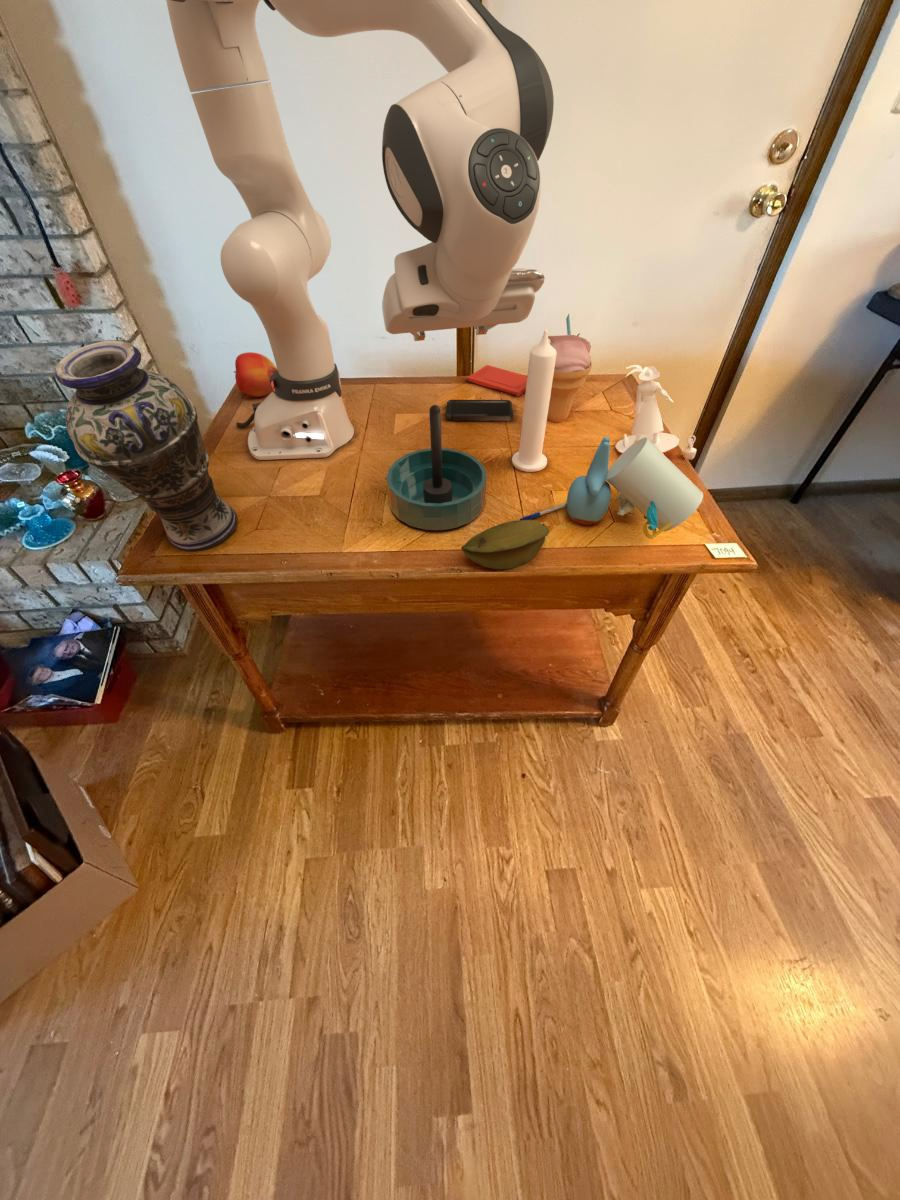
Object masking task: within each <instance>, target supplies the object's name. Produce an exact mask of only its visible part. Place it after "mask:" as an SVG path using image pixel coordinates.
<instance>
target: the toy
mask: <svg viewBox="0 0 900 1200" xmlns="http://www.w3.org/2000/svg"><path fill="white" fill-rule="evenodd" d="M610 449H611V438H610V437H609V436H604V437H603V438H602V440H601V441H600V443H599V445H598V446H597V449H596V451H595V453H594V456H593V458H592V460H591V462H590V465H589V467H588V469H587V472H586V474H585V475H581V476H577V477H576V478H575V479H574V480H573V481H572V482H571V484H570V486H569V488H568V492H567V496H566V503H567V506H566V511H567V514H568V517H569V518H570V519H571V520H572V521H574V522H576V523H578V524H581V525H592V524H595V523H598V522H600V521H601V520H602V519H604V517H605V515H606V514H607V512H608V510H609V507H610V505H611V501H612V487H611V484H610V483H609V482H608V481H607V480H606V478H607V474H608V470H609V462H610Z"/></svg>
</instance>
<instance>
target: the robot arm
mask: <svg viewBox="0 0 900 1200" xmlns="http://www.w3.org/2000/svg"><path fill="white" fill-rule="evenodd" d="M165 1H166V6H167V11H168V15H169V21H170V24H171V30H172V34H173V38H174V42H175V45H176V50H177V53H178V57H179V61H180V64H181V67H182V70H183V74H184V78H185V80H186V84H187V86H188V90H189V93H191V94H190V95H191V98H192V102H193V104H194V106H195V109H196V113H197V116H198V118H199V121H200V124H201V128H202V130H203V133H204V136H205V138H206V139H205V140H206V142H207V144H208V148H209V150H210V153H211V156H212V159H213V162H214V164H215V166H216V167H217V169H218V171H220V173H221V174H222V175H223V176H224V177H226V178H227V179H228V180H229V181H230V182H231V183H232V185H233V186H234V187H235V189H236V190H237V192H238V193H239V195H240V197H241V198H242V200H243V202H244V204H245V205H246V208H247V210H248V212H249V214H250V219H248V220H246V221H243V222H241V223H239V224H238V225H237V226H236V227H235V228H234V230H232V232H231V233H230V234H229V236H228V237H227V238H226V240H225V241H224V242H223V244H222V247H221V250H220V266H221V271H222V273H223V275H224V278H225V280H226V282H227V283H228V285H229V287H230V288H231V289H232V290H233V292H234V293H235V294H236V295H237V296H238V297H240V298H241V299H242V300H243V301H245V302H246V303H248V304H249V305H250V306H251V307H252V308H253V311H255V313H256V315H257V316H258V318H259V320H260V322H261V325H262V326H263V328H264V330H265V332H266V335H267V338H268V341H269V345H270V349H271V352H272V356H273V358H274V364H275V366H276V368H277V369H275V367H269V368H268V370H267V376H268V378H269V380H270V385H271V388H272V392H271V393H270V394H268V395H266V396H265V398H264V399H263V400H262V402H257V403H252V404H251V406H252V409H253V412H252V413H251V415H250V416H249V417H248V419H247V420H246V421H245V422H238V421H237V422H236V423H235V425H236V427H239V428H246V427H249V425H251V424H252V423H253V424H254V425H253V427H252V428H251V429H250V431H249V432H248V437H247V446H248V450H249V454H250V455H251V457H253V458H254V459H255V460H257V461H273V460H293V459H294V460H296V459H318V458H319V459H320V458H329V456H331V455H332V454H333V453H334V452H335V451H336V450H337V449H339V448H341V447H342V446H344V445H346V444H347V443H349V441H350V440H351V439H353V437H354V434H355V428H354V426H353V424H352V422H351V420H350V418H349V415H348V413H347V409H346V406H345V404H344V400H343V396H342V394H343V393H342V391H343V388H342V381H341V377H340V371H339V370H338V365H337V363H335V360H334V354H333V353H334V352H333V348H332V342H331V338H330V332H329V326H328V324H327V322H326V321H325V319H324V318H323V317H322V316H321V315H319V314H318V313H317V311H316V309H315V307H314V305H313V302H312V300H311V298H310V293H309V291H308V282H309V281H310V280H311V279H313V278H314V277H316V275H318V274H319V273H320V272H321V271H322V269H323V268H324V266H325V264H326V263H327V261H328V258H329V256H330V253H331V249H332V237H331V233H330V229H329V226H328V224H327V223H326V221H325V219H324V217H323V216H322V215H321V214H320V213H319V212H318V211H317V209H315V207H314V206H313V204H312V202H311V200H310V198H309V195H308V193H307V192H306V189H305V187H304V185H303V182H302V181H301V177H300V176H299V173H298V172H297V168H296V166H295V164H294V161H293V159H292V156H291V153H290V150H289V146H288V142H287V139H286V135H285V132H284V128H283V125H282V120H281V116H280V112H279V110H278V109H279V108H278V106H277V102H276V97H275V93H274V90H273V86H272V83H271V79H270V74H269V72H268V69H267V68H268V67H267V64H266V61H265V57H264V54H263V50H262V48H261V44H260V41H259V36H258V32H257V27H256V13H257V9H258V6H259V3H260V2H261V0H165ZM262 1H263V2H264V3H265V5H266V6H267V7H268V8H269V9H270V10H271V11H274V12H275V11H277V12H278V13H279V14H280V15H281V17H283V19H285V20H286V22H288V23H289V24H291V25H292V26H293V27H295V28H296V29H298V30H299V31H300V32H302V33H305V34H307V35H310V36H313V37H317V38H336V37H342V36H346V35H351V34H357V33H365V32H373V31H395V32H399V33H403V34H407V35H409V36H412V37H414V38H415V39H416V40H418V41H419V42H420V43H422V45H424V47H425V49H427V50H428V51H429V53H430V54H431V55H432V56H433V57H434V58H435V59H436V61H437V62H438V63H439V64H440V65H441V66H442V67H443V68H444V69H445V71H446V72H447V73H446V74H445V75H443V76H440V78H438V79H435V80H433V81H430V82H428V83H426V84H425V85H422V86H421V87H420V88H418V89H416V90H414V91H413V92H410V93H409V94H407V95H406V96H404V97H402V98H401V99H399V100H398V101H397V102H395V103H393V104H392V105H390V107H389V109H388V111H387V113H386V117H385V119H384V124H383V128H382V129H383V130H382V140H381V141H382V142H381V159H382V162H381V163H382V170H383V175H384V180H385V183H386V186H387V189H388V192H389V194H390V196H391V198H392V200H393V203H394V204H395V206H396V208H397V210H398V211H399V213H400V214H401V216H402V217H403V218H404V220H405V221H407V223H408V224H409V225H410V226H411V227H412V228H413V229H414V230H415V231H416V232H418V233H419V234H420V235H421V236H422V237H424V238H425V239H426V240H427V241H429V243H427V244H425V245H422V246H420V247H416V248H413V249H409V250H406V251H403V252H400V253H398V254H396V255H395V257H394V262H393V263H394V265H393V266H394V273H392V274H391V276H390V277H389V278H388V279H387V282H386V284H385V286H384V287H385V288H384V291H383V295H382V302H381V303H382V304H381V311H382V318H383V323H384V328H385V331H386V332H387V333H389V334H391V335H401V334H411V335H412V336H413V341H414V342H420V341H421V342H422V341H425V340H426V339H425V338H426V332H429V331H430V332H433V331H441V330H442V331H443V330H453V329H463V328H473V327H474V329H475V335H476V336H481V335H482V336H483V335H487V333H488V331H489V330H491V329H493V328H495V327H496V326H498V325H506V324H517V323H521V322H523V321H525V320H526V319H528V317H529V315H530V313H531V312H532V309H533V307H534V304H535V300H536V293H537V292H539V290H540V289H542V287H543V285H544V283H545V279H546V278H545V275H544V274H543V273H541V272H538V270H537V269H532V268H531V269H529V268H525V267H518V268H515V266H516V264H517V263H518V262H519V259H520V258H521V256H522V254H523V251H524V249H525V247H526V245H527V243H528V240H529V239H530V236H531V233H532V230H533V227H534V225H535V222H536V220H537V215H538V211H539V207H540V201H541V200H540V199H541V187H542V177H541V176H542V175H541V169H540V165H539V160H540V159H541V157H542V154H543V152H544V150H545V147H546V145H547V142H548V139H549V136H550V132H551V127H552V122H553V116H554V106H555V105H554V99H555V98H554V90H553V84H552V81H551V76H550V75H549V71H548V70H547V68H546V66H545V64H544V61H543V60H542V58H541V57H540V56H539V54H538V52H537V51H536V50H535V49H534V48H533V47H532V45H530V44H529V43H528V42H527V41H526V40H525V39H523V37H521V36H520V35H518V34H517V33H516V32H513V31H512V30H510V29H508V28H507V27H506V26H504V25H503V24H502V23H501V22H500V21H498V20H497V19H496V18H495V16H494V15H493V14H492V13H491V12H490V11H489V9H488V8H486V7H485V5H484V4H483V3H482V2H481V1H480V0H262Z"/></svg>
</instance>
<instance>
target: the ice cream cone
mask: <svg viewBox="0 0 900 1200" xmlns="http://www.w3.org/2000/svg"><path fill="white" fill-rule="evenodd" d="M570 319H571V318H570V313H568V314H567V316H566V319H565V323H566V333H567V334H564V335H560V334H559V335H548V340H549V344H550V345H551V346H552V347H553V348H554V349H555V350H556V352H557V354H556V361H555V368H554V374H553V381H552V388H551V395H550V402H549V408H548V415H547V421H549V422H553V423H562V422H565V421H566V420H567V418H569V415H570V413H571V410H572V406H573V404H574V401H575V396H576V394H577V392H578V390H579V389H580V388H581V387H582V386H584V384H585V383H586V380H587V376H588V375H589V374H590V373H591V371H592V367H593V366H592V365H593V364H592V359H591V354H590V353H591V348H592V347H591V343H590V341H588V340H587V339H586V338H584V337H582V336H580V335H581V333H578V334H577V335H575V334H572V332H571V331H572V330H571V320H570Z"/></svg>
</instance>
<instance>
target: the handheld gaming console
mask: <svg viewBox="0 0 900 1200" xmlns="http://www.w3.org/2000/svg"><path fill="white" fill-rule="evenodd" d="M467 382H470V383H473V384H476V385H479V386H483V387H486V388H490V389H492V390H497V391H499V392H502V393H503V392H504V393H506V394H510V395H513V396H516V397H519V396H521V395H522V394H524V393H526V384H527V375H524V374H521V373H517V372H514V371H510V370H507V369H503V368H499V367H497V366H492V365H489V364H486V365H484V366H483V367H481V368H479V369H478V370H477V371H475V372H473V373H472V374H470V375H468V376H467Z"/></svg>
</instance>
